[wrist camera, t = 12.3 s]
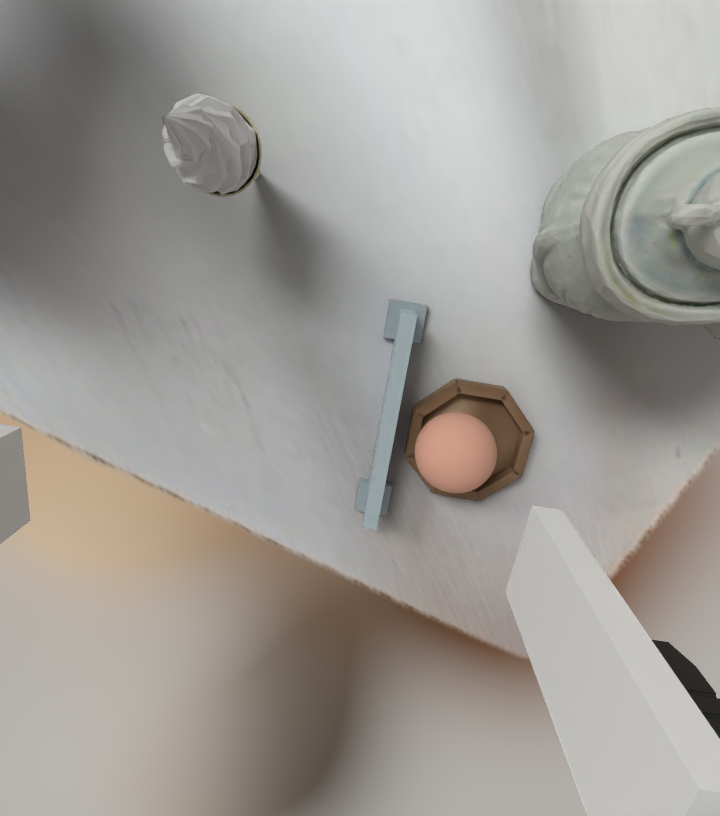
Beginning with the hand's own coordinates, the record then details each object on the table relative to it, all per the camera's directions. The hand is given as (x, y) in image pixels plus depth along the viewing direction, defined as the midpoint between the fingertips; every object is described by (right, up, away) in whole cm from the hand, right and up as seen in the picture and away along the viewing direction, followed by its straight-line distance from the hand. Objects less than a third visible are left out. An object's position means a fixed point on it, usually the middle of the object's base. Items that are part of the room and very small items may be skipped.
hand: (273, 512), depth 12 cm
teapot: (+23, +16, +23) cm, 36 cm away
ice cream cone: (-6, +20, +23) cm, 31 cm away
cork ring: (+11, 0, +28) cm, 31 cm away
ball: (+11, 0, +28) cm, 30 cm away
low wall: (+5, +2, +28) cm, 29 cm away
